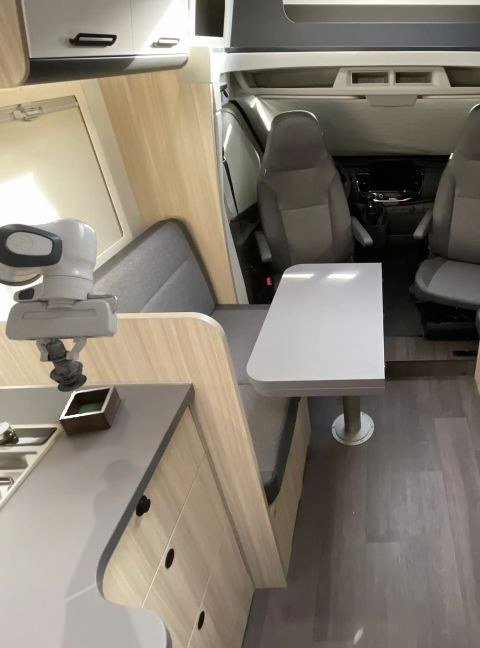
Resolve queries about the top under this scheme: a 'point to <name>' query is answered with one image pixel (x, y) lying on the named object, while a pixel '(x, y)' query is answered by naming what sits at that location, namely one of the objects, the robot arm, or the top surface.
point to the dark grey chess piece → (64, 367)
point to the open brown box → (90, 410)
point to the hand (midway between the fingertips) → (59, 361)
